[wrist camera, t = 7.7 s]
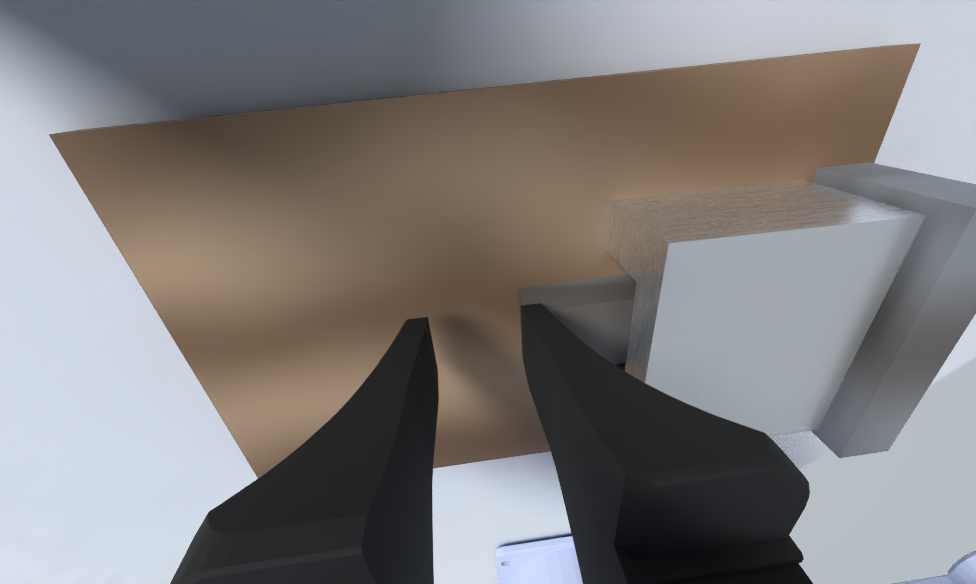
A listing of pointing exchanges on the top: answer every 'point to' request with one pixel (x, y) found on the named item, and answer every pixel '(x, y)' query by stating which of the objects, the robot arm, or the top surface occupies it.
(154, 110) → the top surface
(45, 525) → the top surface
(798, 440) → the top surface
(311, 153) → the slide rail board
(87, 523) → the top surface
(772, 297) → the block
